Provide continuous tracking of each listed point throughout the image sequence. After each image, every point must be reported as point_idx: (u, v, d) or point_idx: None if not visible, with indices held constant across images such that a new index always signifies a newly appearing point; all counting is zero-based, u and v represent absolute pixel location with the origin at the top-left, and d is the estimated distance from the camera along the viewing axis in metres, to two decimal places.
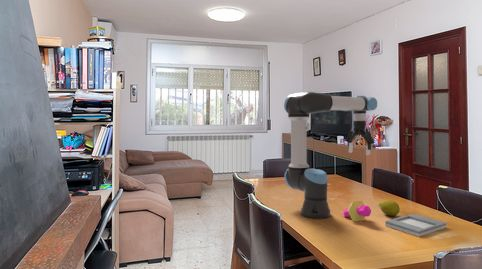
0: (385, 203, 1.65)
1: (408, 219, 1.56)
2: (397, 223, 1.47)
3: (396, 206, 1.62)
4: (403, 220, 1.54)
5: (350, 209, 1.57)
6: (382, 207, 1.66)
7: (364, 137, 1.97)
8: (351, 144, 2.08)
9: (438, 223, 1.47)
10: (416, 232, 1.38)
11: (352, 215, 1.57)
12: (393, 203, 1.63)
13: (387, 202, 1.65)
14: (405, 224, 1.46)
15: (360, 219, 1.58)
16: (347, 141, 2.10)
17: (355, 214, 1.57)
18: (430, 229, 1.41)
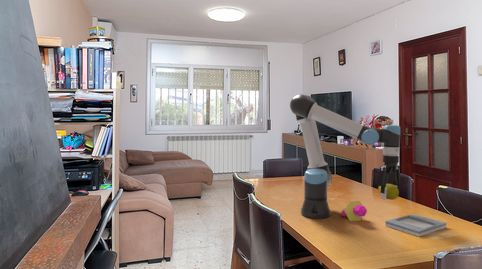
0: None
1: (408, 219, 1.56)
2: (397, 223, 1.47)
3: (395, 189, 1.62)
4: (403, 220, 1.54)
5: (346, 209, 1.58)
6: None
7: None
8: None
9: (438, 223, 1.47)
10: (416, 232, 1.38)
11: (348, 215, 1.58)
12: (392, 187, 1.63)
13: (386, 186, 1.64)
14: (405, 224, 1.46)
15: (357, 219, 1.58)
16: None
17: (351, 213, 1.58)
18: (430, 229, 1.41)
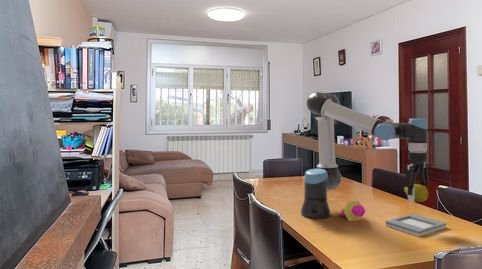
0: None
1: (408, 219, 1.56)
2: (397, 223, 1.47)
3: (425, 190, 1.44)
4: (403, 220, 1.54)
5: (345, 208, 1.59)
6: None
7: None
8: None
9: (438, 223, 1.47)
10: (416, 232, 1.38)
11: (347, 214, 1.58)
12: (421, 187, 1.45)
13: (414, 186, 1.47)
14: (405, 224, 1.46)
15: (355, 219, 1.58)
16: None
17: (350, 213, 1.58)
18: (430, 229, 1.41)
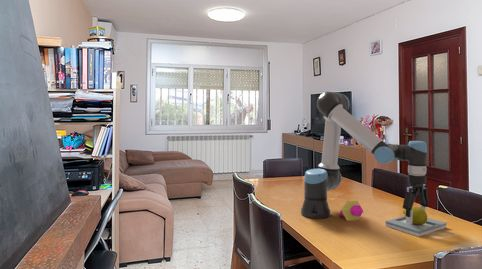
0: None
1: None
2: (397, 223, 1.47)
3: (424, 214, 1.45)
4: (403, 220, 1.54)
5: (343, 208, 1.59)
6: None
7: None
8: (422, 208, 1.51)
9: (438, 223, 1.47)
10: (416, 232, 1.38)
11: (345, 214, 1.58)
12: (420, 211, 1.46)
13: (413, 209, 1.47)
14: (405, 224, 1.46)
15: (354, 219, 1.58)
16: None
17: (348, 213, 1.58)
18: (430, 229, 1.41)
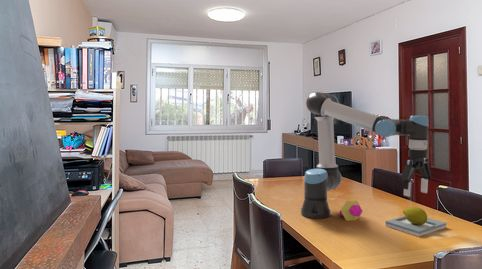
0: (411, 210, 1.48)
1: None
2: (397, 223, 1.47)
3: (424, 214, 1.45)
4: (403, 220, 1.54)
5: (343, 208, 1.59)
6: (407, 215, 1.49)
7: None
8: (424, 181, 1.51)
9: (438, 223, 1.47)
10: (416, 232, 1.38)
11: (344, 214, 1.59)
12: (420, 211, 1.46)
13: (413, 209, 1.47)
14: (405, 224, 1.46)
15: (353, 219, 1.58)
16: None
17: (347, 213, 1.58)
18: (430, 229, 1.41)
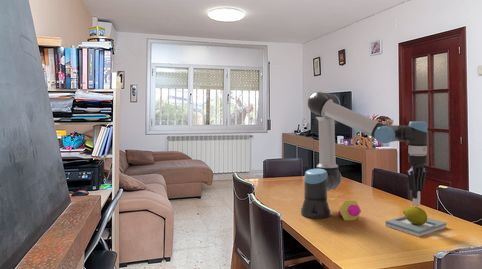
0: (411, 210, 1.48)
1: None
2: (397, 223, 1.47)
3: (424, 214, 1.45)
4: (403, 220, 1.54)
5: (341, 208, 1.60)
6: (407, 215, 1.49)
7: None
8: None
9: (438, 223, 1.47)
10: (416, 232, 1.38)
11: (343, 214, 1.59)
12: (420, 211, 1.46)
13: (413, 209, 1.47)
14: (405, 224, 1.46)
15: (351, 218, 1.59)
16: None
17: (345, 213, 1.59)
18: (430, 229, 1.41)
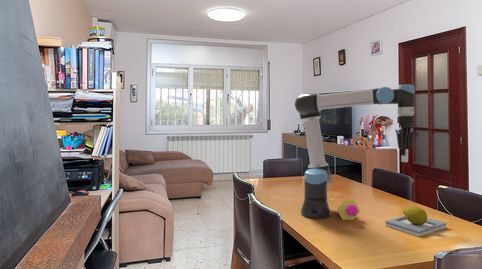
0: (411, 210, 1.48)
1: None
2: (397, 223, 1.47)
3: (424, 214, 1.45)
4: (403, 220, 1.54)
5: (339, 207, 1.60)
6: (407, 215, 1.49)
7: None
8: None
9: (438, 223, 1.47)
10: (416, 232, 1.38)
11: (341, 213, 1.60)
12: (420, 211, 1.46)
13: (413, 209, 1.47)
14: (405, 224, 1.46)
15: (350, 218, 1.59)
16: None
17: (344, 212, 1.59)
18: (430, 229, 1.41)
